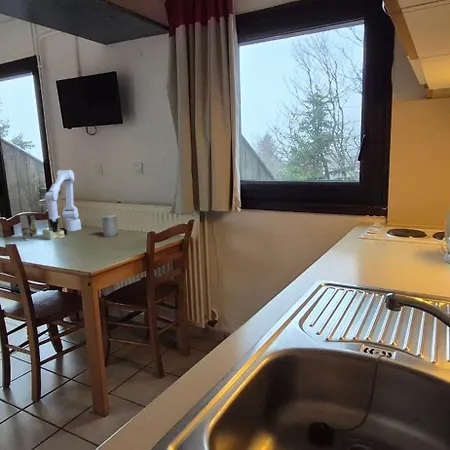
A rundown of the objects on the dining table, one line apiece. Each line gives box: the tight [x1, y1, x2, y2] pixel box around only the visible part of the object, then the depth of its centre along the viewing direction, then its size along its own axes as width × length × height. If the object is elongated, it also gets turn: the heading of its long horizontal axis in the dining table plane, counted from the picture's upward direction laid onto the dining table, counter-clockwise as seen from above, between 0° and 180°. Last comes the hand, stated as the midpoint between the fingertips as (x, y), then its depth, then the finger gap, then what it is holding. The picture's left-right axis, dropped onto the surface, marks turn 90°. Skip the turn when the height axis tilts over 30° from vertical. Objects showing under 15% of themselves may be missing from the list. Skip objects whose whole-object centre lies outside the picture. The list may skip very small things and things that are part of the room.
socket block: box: [53, 229, 66, 239], centre depth 272 cm, size 8×8×4 cm
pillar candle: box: [101, 213, 119, 238], centre depth 276 cm, size 10×10×15 cm
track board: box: [41, 228, 54, 241], centre depth 275 cm, size 21×14×6 cm, turn 136°
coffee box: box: [19, 212, 38, 240], centre depth 280 cm, size 9×6×16 cm
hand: (55, 230), depth 272 cm, fingers open, 7 cm apart
